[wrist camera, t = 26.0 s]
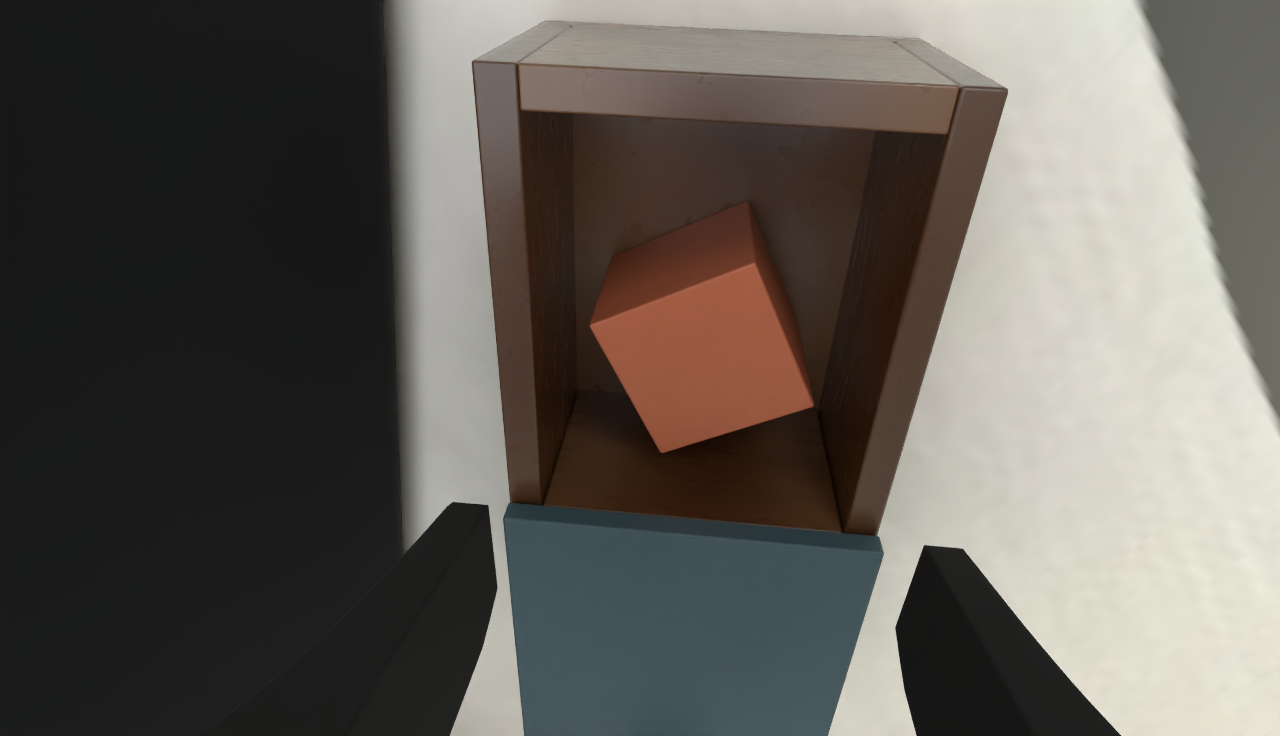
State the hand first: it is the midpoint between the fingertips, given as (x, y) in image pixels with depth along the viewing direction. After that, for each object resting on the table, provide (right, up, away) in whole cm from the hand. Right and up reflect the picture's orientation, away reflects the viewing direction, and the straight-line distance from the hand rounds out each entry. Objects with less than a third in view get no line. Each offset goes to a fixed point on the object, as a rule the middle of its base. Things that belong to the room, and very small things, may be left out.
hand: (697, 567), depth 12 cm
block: (+1, +5, +8) cm, 10 cm away
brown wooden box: (+1, +7, +8) cm, 11 cm away
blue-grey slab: (0, -5, +8) cm, 9 cm away
